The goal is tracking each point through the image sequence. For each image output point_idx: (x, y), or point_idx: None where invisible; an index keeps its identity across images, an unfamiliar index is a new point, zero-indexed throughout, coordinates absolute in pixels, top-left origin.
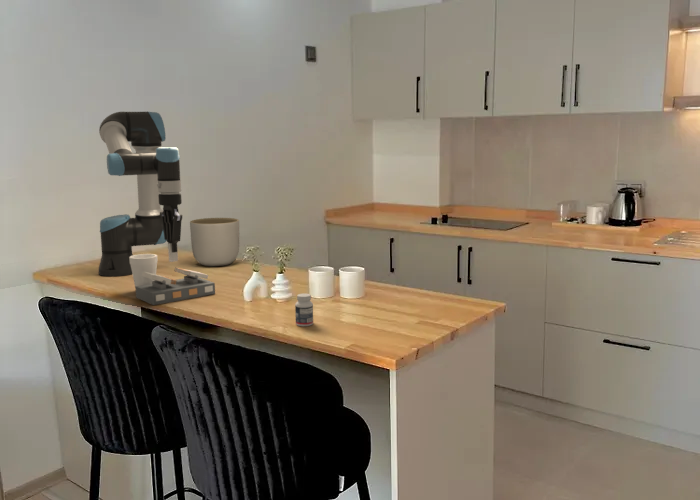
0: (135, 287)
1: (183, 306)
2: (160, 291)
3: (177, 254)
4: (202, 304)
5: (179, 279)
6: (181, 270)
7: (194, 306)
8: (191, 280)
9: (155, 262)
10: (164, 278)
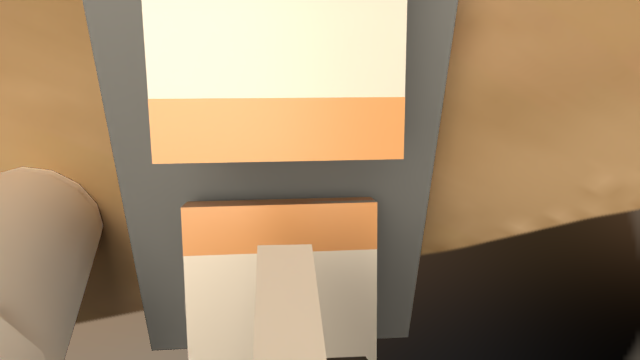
0: (155, 344)
1: (539, 192)
2: (399, 294)
3: (319, 305)
4: (600, 95)
5: (104, 41)
6: (314, 159)
7: (592, 150)
8: None
9: (2, 328)
10: (375, 307)
